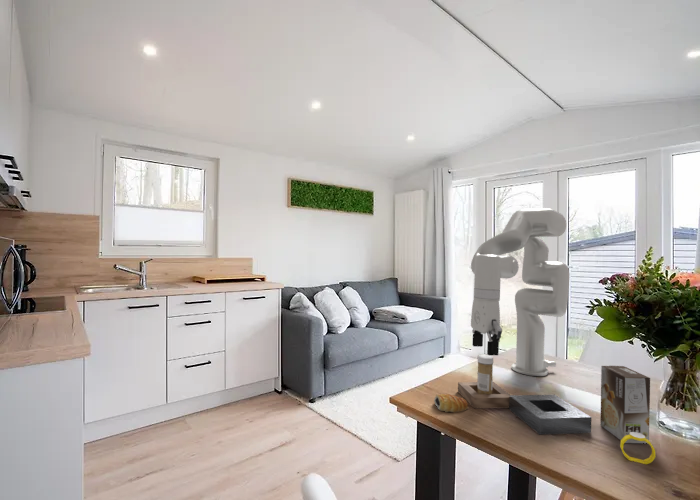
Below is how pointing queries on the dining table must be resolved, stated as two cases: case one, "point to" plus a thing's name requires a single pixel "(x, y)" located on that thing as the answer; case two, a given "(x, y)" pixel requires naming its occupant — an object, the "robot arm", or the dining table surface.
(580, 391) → the dining table surface
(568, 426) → the block
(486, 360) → the sprinkles bottle
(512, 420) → the dining table surface
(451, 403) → the pastry
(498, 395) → the holder ring
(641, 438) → the watch
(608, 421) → the coffee box
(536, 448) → the dining table surface
